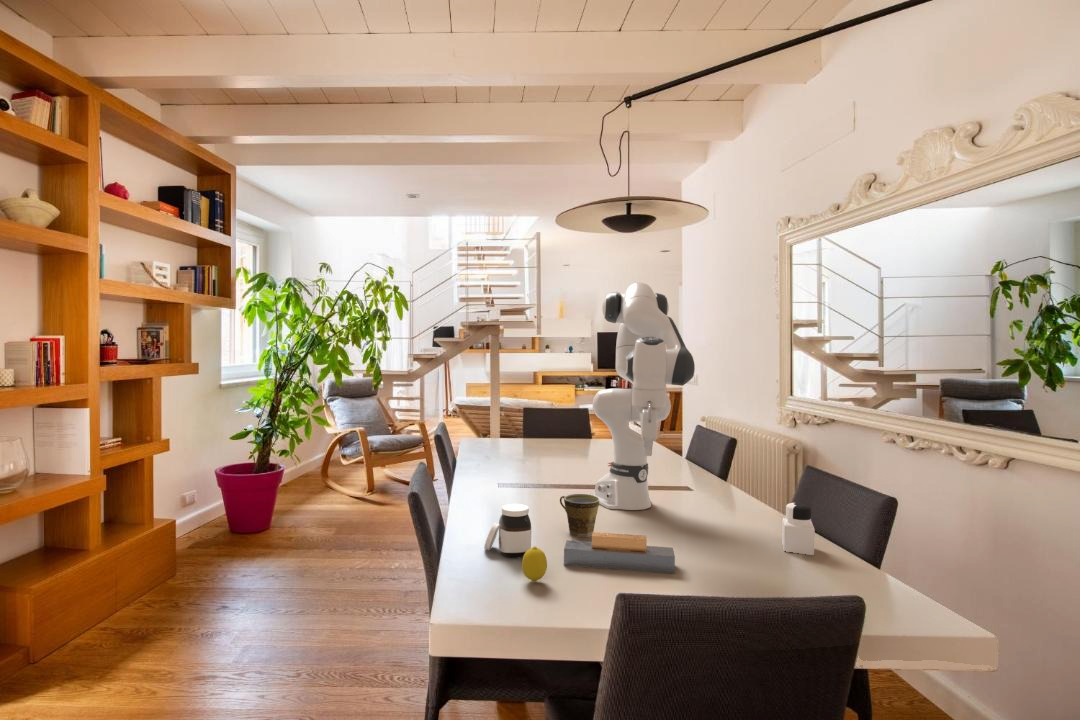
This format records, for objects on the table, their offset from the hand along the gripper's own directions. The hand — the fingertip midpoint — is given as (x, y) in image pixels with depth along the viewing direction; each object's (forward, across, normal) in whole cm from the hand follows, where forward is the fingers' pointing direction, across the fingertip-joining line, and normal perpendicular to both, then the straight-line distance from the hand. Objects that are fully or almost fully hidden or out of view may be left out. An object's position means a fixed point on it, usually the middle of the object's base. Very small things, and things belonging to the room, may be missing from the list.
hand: (647, 451), depth 149 cm
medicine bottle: (+26, +5, -40) cm, 48 cm away
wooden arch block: (+25, -15, +7) cm, 30 cm away
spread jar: (+25, -12, +35) cm, 45 cm away
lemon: (+24, -29, +25) cm, 46 cm away
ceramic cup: (+26, +7, +19) cm, 33 cm away
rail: (+25, -15, +7) cm, 30 cm away
